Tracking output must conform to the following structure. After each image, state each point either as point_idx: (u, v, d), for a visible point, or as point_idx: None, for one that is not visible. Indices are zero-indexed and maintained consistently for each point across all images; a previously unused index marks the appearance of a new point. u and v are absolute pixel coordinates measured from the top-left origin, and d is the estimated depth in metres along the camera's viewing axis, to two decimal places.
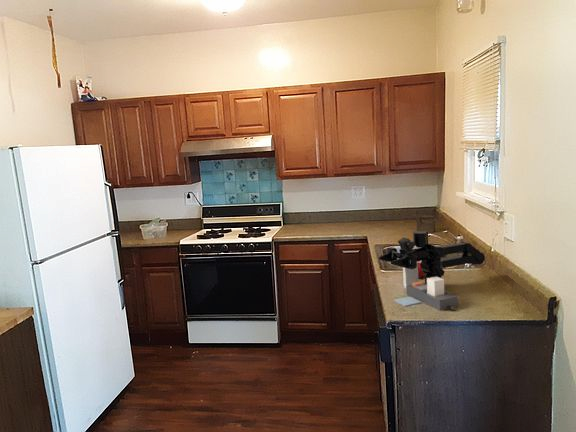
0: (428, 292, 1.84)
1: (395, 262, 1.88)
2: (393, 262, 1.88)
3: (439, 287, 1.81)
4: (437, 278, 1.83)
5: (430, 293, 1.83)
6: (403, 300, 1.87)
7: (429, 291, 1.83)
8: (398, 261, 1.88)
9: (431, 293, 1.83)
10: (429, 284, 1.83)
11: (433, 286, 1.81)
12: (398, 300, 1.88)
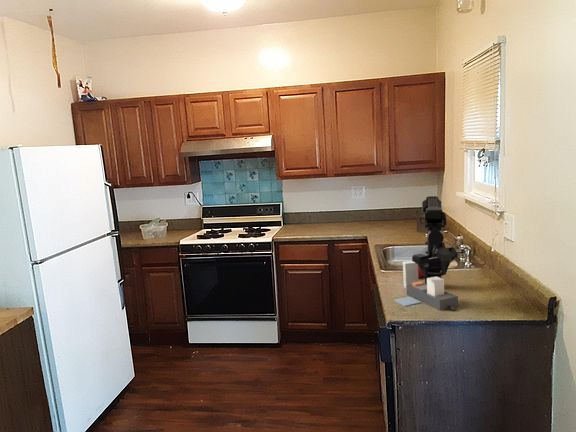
0: (428, 292, 1.84)
1: None
2: None
3: (439, 287, 1.81)
4: (437, 278, 1.83)
5: (430, 293, 1.83)
6: (403, 300, 1.87)
7: (429, 291, 1.83)
8: None
9: (431, 293, 1.83)
10: (429, 284, 1.83)
11: (433, 286, 1.81)
12: (398, 300, 1.88)
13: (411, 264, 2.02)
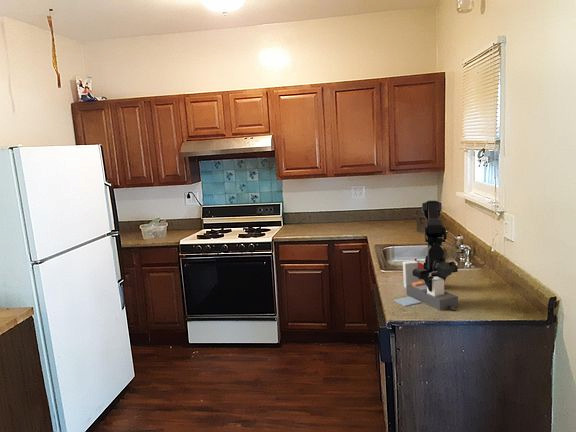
0: (428, 292, 1.84)
1: None
2: None
3: (439, 287, 1.81)
4: (437, 278, 1.83)
5: (430, 293, 1.83)
6: (403, 300, 1.87)
7: (429, 291, 1.83)
8: None
9: (431, 293, 1.83)
10: None
11: (433, 286, 1.81)
12: (398, 300, 1.88)
13: (411, 264, 2.02)
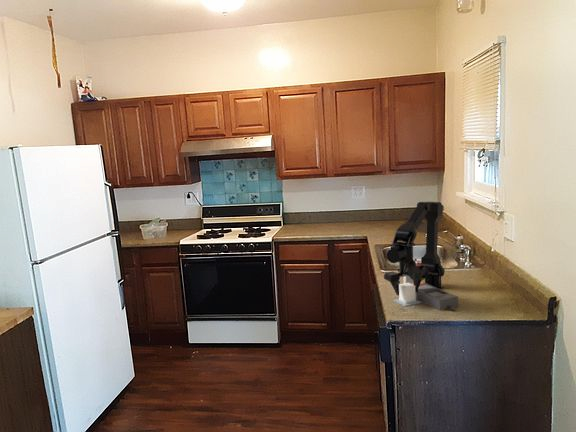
0: (400, 298, 1.88)
1: None
2: None
3: (410, 293, 1.84)
4: (409, 284, 1.86)
5: (402, 299, 1.86)
6: None
7: (401, 297, 1.87)
8: None
9: (403, 299, 1.86)
10: (401, 291, 1.87)
11: (404, 292, 1.84)
12: (398, 300, 1.88)
13: None
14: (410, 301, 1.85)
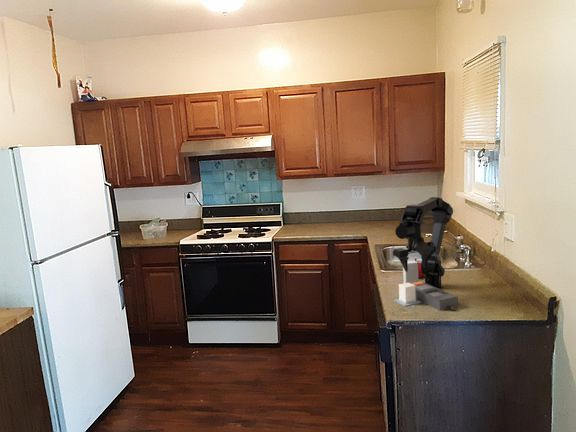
0: (400, 298, 1.88)
1: None
2: None
3: (410, 293, 1.84)
4: (409, 284, 1.86)
5: (402, 299, 1.86)
6: None
7: (401, 297, 1.87)
8: None
9: (403, 299, 1.86)
10: (401, 291, 1.87)
11: (404, 292, 1.84)
12: (398, 300, 1.88)
13: (411, 264, 2.02)
14: (410, 301, 1.85)
